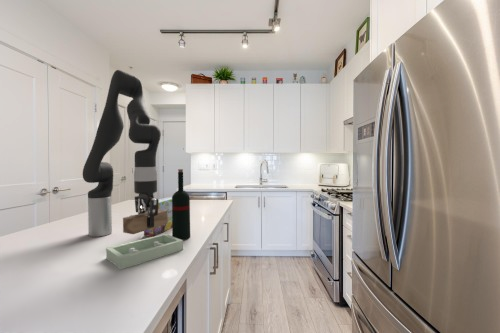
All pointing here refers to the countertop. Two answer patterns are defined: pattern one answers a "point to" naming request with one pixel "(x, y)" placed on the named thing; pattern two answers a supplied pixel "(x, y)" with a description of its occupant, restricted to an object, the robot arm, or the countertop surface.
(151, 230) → the snack box
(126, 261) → the pale green tray
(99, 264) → the countertop surface
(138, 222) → the walnut plank
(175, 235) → the wine bottle
